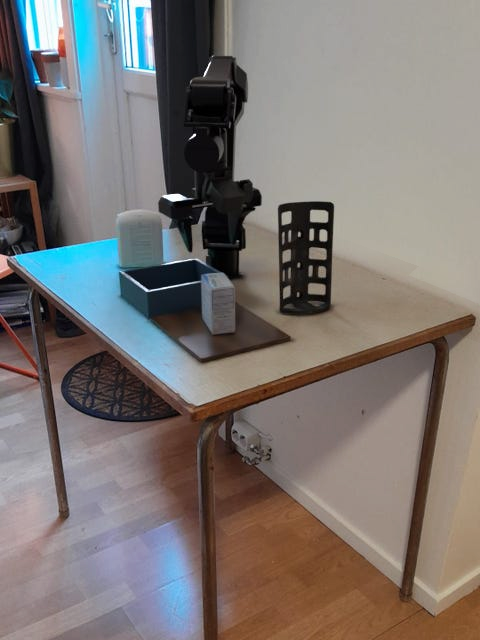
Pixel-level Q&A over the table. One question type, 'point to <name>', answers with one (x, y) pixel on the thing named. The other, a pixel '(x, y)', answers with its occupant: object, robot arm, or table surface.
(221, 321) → the medicine box
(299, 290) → the holder
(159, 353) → the table surface
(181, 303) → the tote
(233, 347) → the board
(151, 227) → the grey rounded block
